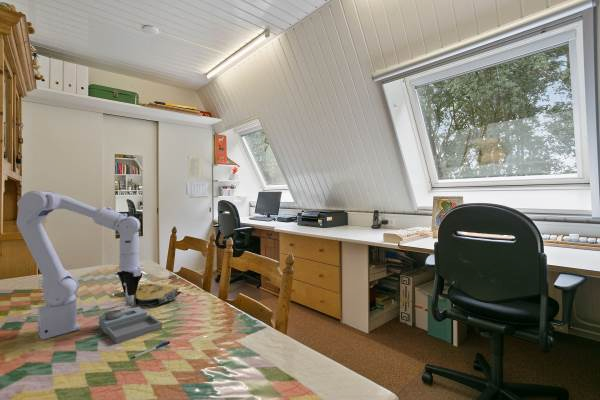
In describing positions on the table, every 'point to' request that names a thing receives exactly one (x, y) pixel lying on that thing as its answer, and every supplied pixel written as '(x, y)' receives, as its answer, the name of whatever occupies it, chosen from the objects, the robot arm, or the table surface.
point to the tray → (133, 328)
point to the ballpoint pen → (151, 349)
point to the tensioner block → (120, 317)
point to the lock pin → (129, 298)
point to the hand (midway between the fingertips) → (129, 293)
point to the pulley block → (154, 294)
